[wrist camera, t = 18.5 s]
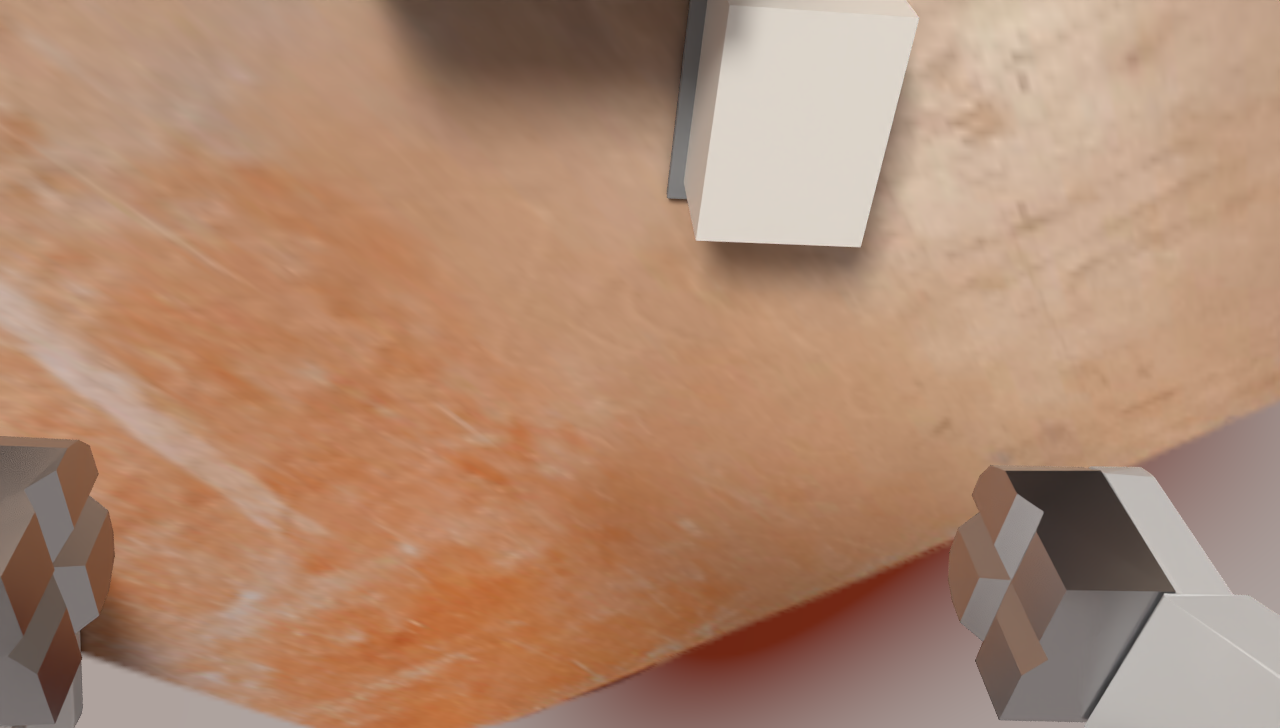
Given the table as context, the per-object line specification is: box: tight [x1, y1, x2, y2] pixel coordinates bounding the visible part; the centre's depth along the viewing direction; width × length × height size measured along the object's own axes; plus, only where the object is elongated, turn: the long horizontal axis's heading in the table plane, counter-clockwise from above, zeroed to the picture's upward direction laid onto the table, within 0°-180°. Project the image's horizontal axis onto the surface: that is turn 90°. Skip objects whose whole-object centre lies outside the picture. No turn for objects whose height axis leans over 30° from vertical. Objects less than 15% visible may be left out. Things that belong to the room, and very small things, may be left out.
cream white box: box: [684, 0, 919, 247], centre depth 31 cm, size 7×5×4 cm
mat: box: [667, 0, 707, 199], centre depth 33 cm, size 8×6×1 cm
